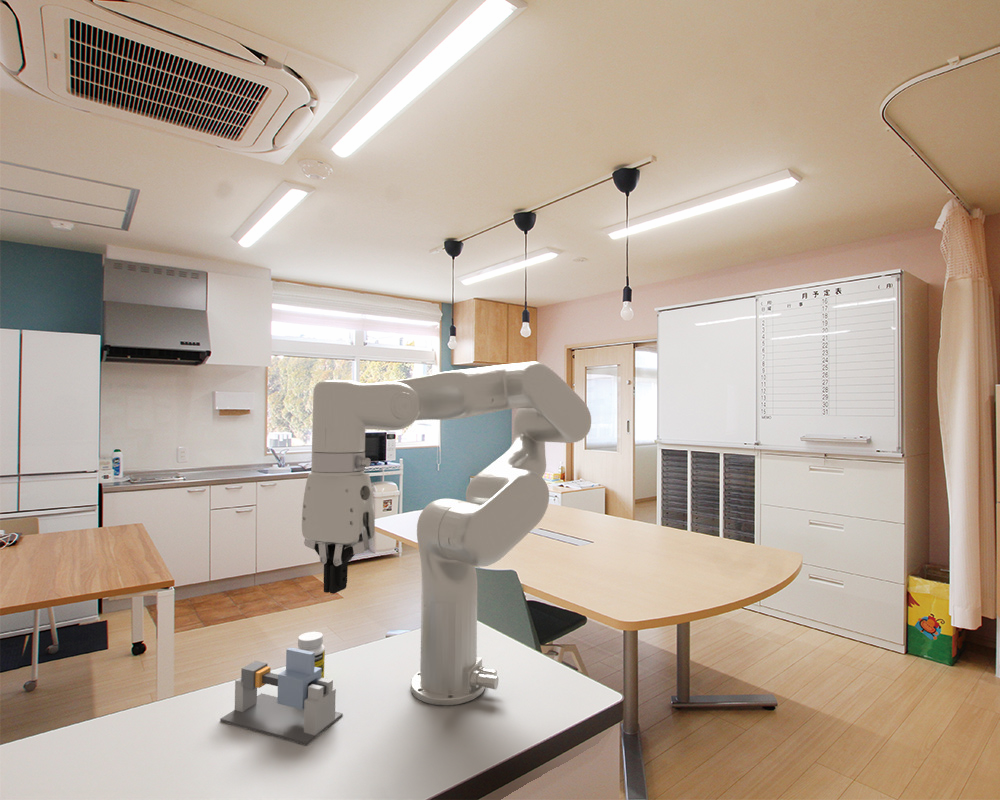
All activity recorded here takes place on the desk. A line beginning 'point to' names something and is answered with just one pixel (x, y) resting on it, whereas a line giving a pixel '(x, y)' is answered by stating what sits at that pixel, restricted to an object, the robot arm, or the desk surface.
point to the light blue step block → (297, 677)
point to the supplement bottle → (313, 647)
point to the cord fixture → (281, 707)
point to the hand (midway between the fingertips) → (335, 590)
